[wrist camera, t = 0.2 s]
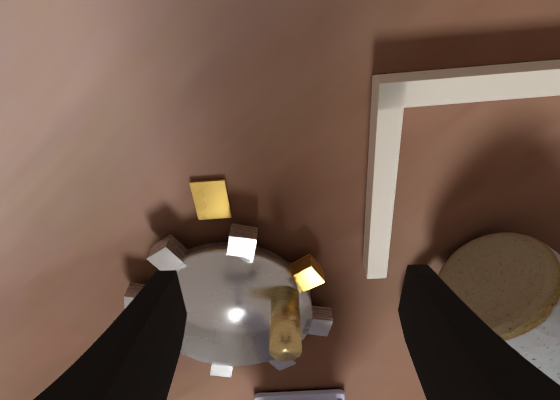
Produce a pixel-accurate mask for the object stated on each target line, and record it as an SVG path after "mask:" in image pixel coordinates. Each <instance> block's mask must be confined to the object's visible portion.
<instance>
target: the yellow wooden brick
mask: <svg viewBox="0 0 560 400" xmlns="http://www.w3.org/2000/svg"><path fill="white" fill-rule="evenodd" d="M190 187H191V191H192V195H193V199H194V203H195V207H196V211H197V215H198V219H199V220H206V219H220V218H232V214H231V209H230V203H229V198H228V193H227V188H226V182H225V179H213V180H199V181H190Z"/></svg>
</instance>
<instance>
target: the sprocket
mask: <svg viewBox="0 0 560 400" xmlns="http://www.w3.org/2000/svg"><path fill="white" fill-rule="evenodd" d="M257 233H258V227H253V226H246V225H239V224H232V223H231V228H230V233H229V240H228V242H217V243H209V244H204V245H199V246H195V247H193V248H190V249H186V248H185V247H184V246H183V245H182V244H181V243H180V242H179V241H178V240H177V239H176V238H175V237H173V236H172V235H171V234H170V235H169V236H167V237H165V238H164V239H162V240H161V241H159V242H157V243H156V244H154V245H152V247H151V249H150V251H149V254H148V256H147V258H146V259H147V260H148V261H149V262H150V263H152V264H153V265H154V266H155V267H156V268H158V269H159V271H164V270H176V271H177V275H178V279H179V283H180V287H181V291H182V295H183V299H184V303H185V307H186V311H187V319H186V326H185V332H184V338H183V343H182V348H181V351H180V353H182V354H184V355H185V356H188V357H190V358H193V359H195V360H199V361H202V362H206V363H210V364H212V366H211V373H210V375H214V376H224V377H231V375H232V369H233V366H247V365H255V364H260V363H264V362H269V363H270V364H271V365H273V366H274V367H275V368H276V369H277V370H279V371H280V370H283V369H285V368H288V367H290V366H293V365H295V364H297V358H298V357H299V356H300V355H301V354H302V340H303V339H304V338H305V336H306V335H307V334H310V335H319V336H328V334H329V331H330V328H331V326H332V323H333V317H332V310H331V308H330V307H322V306H314V305H312V304H311V295H310V289H312V288H314V287H316V286H318V285H320V284H322V283H324V282H325V279H324V272H323V268H322V267H321V266H320V265H319V263H318V262H317V261H316V260H315V259H314V258H313V256H312V255H311V254H310V253H309V254H307V255H306V256H304V257H302V258H300V259H298V260H296V261H294V262H292V263H290V262H288V261H287V260H285V259H284V258H283V257H281V256H279V255H277V254H275V253H273V252H271V251H269V250H266V249H264V248H260V247H257V246H256V242H257ZM143 287H144V284H136V283H130V284H129V286H128V289H127V291H126V293H125V295H124V306H125V308H126V307H127V306H128V305H129V303H130V302H131V301H132V300H133V299H134V298H135V296H136V295H137V294H138V293H139V291H140V290H141V289H142V288H143Z"/></svg>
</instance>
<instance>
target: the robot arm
mask: <svg viewBox="0 0 560 400" xmlns="http://www.w3.org/2000/svg"><path fill="white" fill-rule="evenodd" d="M398 312H399V317H400V321H401V325H402V330H403V334H404V338H405V342H406V344H407V347H408V350H409V353H410V356H411V358H412V361H413V364H414V367H415V369H416V372H417V375H418V377H419V380H420V383H421V385H422V388H423V391H424V394H425V396H426V399H427V400H560V385H559V384H558V383H556V382H555V381H553V380H552V379H551V378H550V377H548V376H547V375H546V374H544V373H543V372H542V371H541V370H539V369H538V368H537V367H536V366H534V365H533V364H532V363H530V362H529V361H528V360H527V359H525V358H524V357H523V356H522V355H521V354H519V353H518V352H517V351H516V350H515V349H513V348H512V347H511V346H510V345H509V344H508V343H507V342H505V341H504V340H503V339H502V338H501V337H500V336H499V335H498V334H496V333H495V332H494V331H493V330H492V329H491V328H490V327H489V326H488V325H487V324H486V323H485V322H484V321H483V320H482V319H480V318H479V317H478V316H477V315H476V314H475V313H474V312H473V311H472V310H471V309H470V308H469V307H468V306H467V305H466V304H465V303H464V302H463V301H462V300H461V299H460V298H459V297H458V296H457V295H456V294H455V293H454V292H453V291H452V290H451V289H450V287H449V286H448V285H447V284H446V283H445V282H444V281H443V280H442V279H441V278H440V277H439V276H438V275H437V274H436V273H435V272H434V271H433V270H432V269H431V268H430V267H429V266H428V265H407V270H406V275H405V280H404V284H403V289H402V294H401V298H400V303H399V308H398ZM186 319H187V311H186V307H185V303H184V299H183V295H182V291H181V287H180V283H179V279H178V275H177V271H176V270H164V271H156V272H155V273H154V274H153V276H152V277H151V278H150V279H149V280H148V282H147V283H146V284H145V285H144V287H143V288H142V289H141V290H140V291H139V293H138V294H137V295H136V296H135V298H134V299H133V300H132V301H131V302H130V303H129V305H128V306H127V307H126V308H125V309H124V310H123V312H122V313H121V314H120V315H119V316H118V317H117V318H116V320H115V321H114V322H113V323H112V324H111V325H110V326H109V328H108V329H107V330H106V331H105V332H104V333H103V334H102V335H101V336H100V337H99V338H98V339H97V340H96V341H95V342H94V343H93V345H92V346H91V347H90V348H89V349H88V350H87V351H86V352H85V353H84V354H83V355H82V356H81V357H80V358H79V359H78V360H77V361H76V362H75V363H74V364H73V365H72V366H71V367H70V368H68V369H67V370H66V371H65V372H64V373H63V374H62V375H61V376H60V377H59V378H58V379H57V380H55V381H54V382H53V383H52V384H51V385H50V386H49V387H48V388H46V389H45V390H44V391H43V392H42V393H41V394H39V395H38V396H37V397H36V398H35V399H33V400H166V399H167V396H168V392H169V389H170V386H171V382H172V379H173V376H174V372H175V369H176V365H177V362H178V358H179V355H180V351H181V348H182V343H183V338H184V332H185V326H186ZM254 400H345V393H344V391H343V390H341V389H332V390H310V391H289V392H268V393H257V394H255V395H254Z"/></svg>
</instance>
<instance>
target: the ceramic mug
mask: <svg viewBox="0 0 560 400" xmlns="http://www.w3.org/2000/svg"><path fill="white" fill-rule="evenodd" d="M438 276H439V277H440V278H441V279H442V280H443V281H444V282H445V283H446V284H447V285H448V286H449V287H450V289H451V290H452V291H453V292H454V293H455V294H456V295H457V296H458V297H459V298H460V299H461V300H462V301H463V302H464V303H465V304H466V305H467V306H468V307H469V308H470V309H471V310H472V311H473V312H474V313H475V314H476V315H477V316H478V317H479V318H480V319H482V320H483V321H484V322H485V323H486V324H487V325H488V326H489V327H490V328H491V329H492V330H493V331H494V332H495V333H496V334H498V335H499V336H500V337H501V338H502V339H503V340H504V341H505V342H507V343H508V344H509V345H510V346H511V347H512V348H513V349H515V350H516V351H517V352H518V353H519V354H521V355H522V356H523V357H524V358H525V359H527V360H528V361H529V362H530V363H532V364H533V365H534V366H536V367H537V368H538V369H539V370H541V371H542V372H543V373H544V374H546V375H547V376H548V377H550V378H551V379H552V380H553V381H555V382H556V383H558V384H559V385H560V254H558V253H557V252H556V251H554V250H553V249H552V248H551V247H549V246H548V245H546V244H545V243H543V242H541V241H539V240H537V239H536V238H534V237H531V236H528V235H524V234H519V233H513V232H500V233H493V234H488V235H484V236H481V237H479V238H476V239H474V240H472V241H470V242H468V243H466V244H465V245H463V246H462V247H460V248H459V249H458V250H456V251H455V252H454V253H453V254H452V255H451V256H450V257H449V259H448V260H447V261H446V262H445V263H444V265H443V267H442V268H441V270H440V272H439V275H438Z"/></svg>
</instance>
